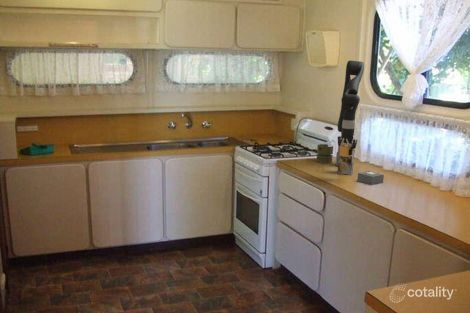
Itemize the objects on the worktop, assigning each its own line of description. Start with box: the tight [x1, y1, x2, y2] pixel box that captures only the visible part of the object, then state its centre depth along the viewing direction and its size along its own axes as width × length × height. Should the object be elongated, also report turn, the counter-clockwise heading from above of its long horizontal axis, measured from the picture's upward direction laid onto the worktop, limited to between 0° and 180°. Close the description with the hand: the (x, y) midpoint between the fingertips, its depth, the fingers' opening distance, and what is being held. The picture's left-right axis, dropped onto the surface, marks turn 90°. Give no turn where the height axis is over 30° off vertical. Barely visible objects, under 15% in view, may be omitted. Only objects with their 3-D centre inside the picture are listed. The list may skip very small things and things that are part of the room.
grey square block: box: [356, 170, 385, 186], centre depth 298 cm, size 11×11×6 cm
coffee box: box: [337, 149, 356, 176], centre depth 317 cm, size 9×6×16 cm
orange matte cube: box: [339, 145, 353, 157], centre depth 298 cm, size 6×6×6 cm
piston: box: [316, 143, 334, 164], centre depth 353 cm, size 11×12×11 cm
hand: (346, 154), depth 299 cm, fingers closed on orange matte cube, 5 cm apart
